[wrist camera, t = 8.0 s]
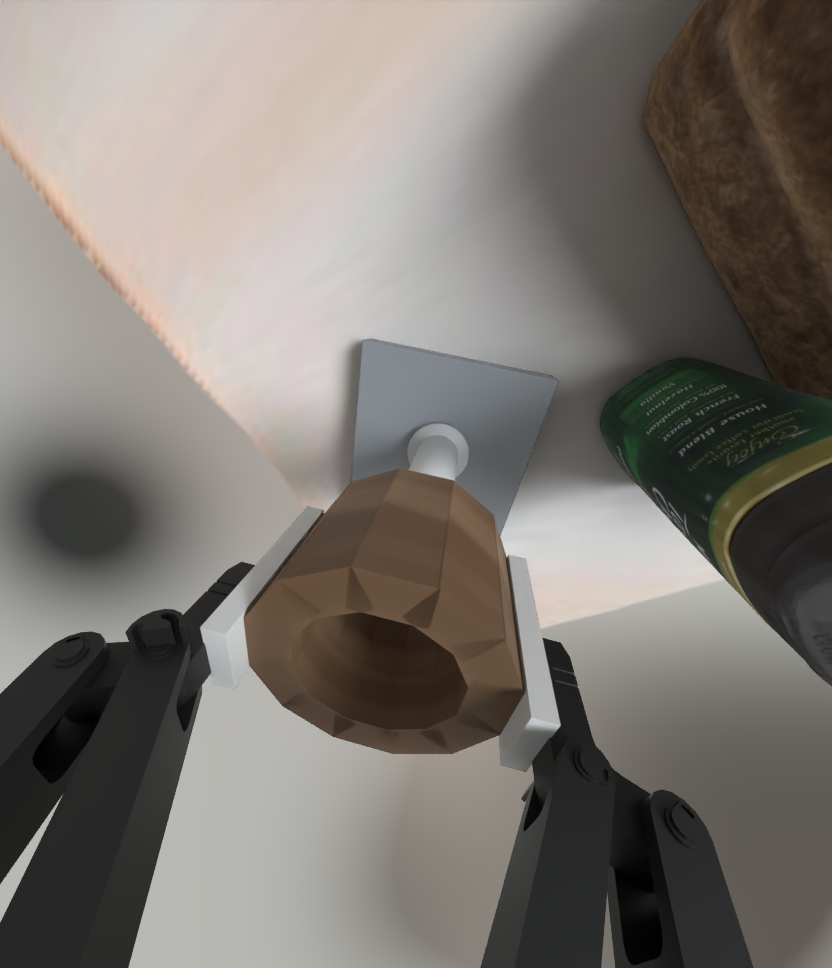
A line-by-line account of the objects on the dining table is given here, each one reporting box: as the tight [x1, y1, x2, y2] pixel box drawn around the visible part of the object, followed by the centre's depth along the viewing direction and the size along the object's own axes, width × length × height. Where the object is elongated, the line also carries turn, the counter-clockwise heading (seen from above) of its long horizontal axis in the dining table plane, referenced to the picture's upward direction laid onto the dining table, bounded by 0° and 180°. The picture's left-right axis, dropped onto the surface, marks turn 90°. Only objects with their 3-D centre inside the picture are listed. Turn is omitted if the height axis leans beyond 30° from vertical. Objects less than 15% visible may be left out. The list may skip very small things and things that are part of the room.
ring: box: [243, 468, 525, 754], centre depth 12 cm, size 8×8×6 cm
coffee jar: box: [600, 358, 832, 686], centre depth 16 cm, size 10×8×19 cm
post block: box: [351, 339, 559, 536], centre depth 22 cm, size 14×14×14 cm
